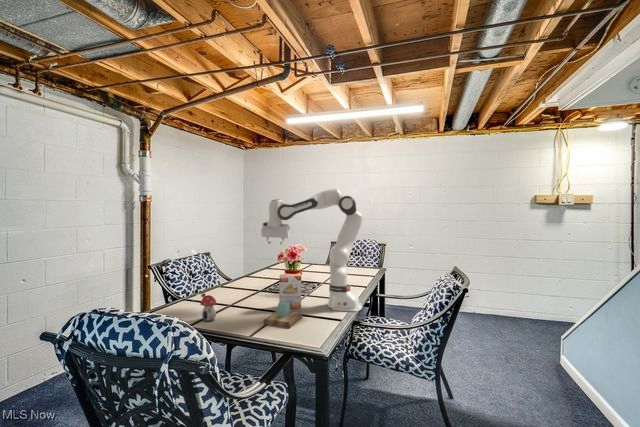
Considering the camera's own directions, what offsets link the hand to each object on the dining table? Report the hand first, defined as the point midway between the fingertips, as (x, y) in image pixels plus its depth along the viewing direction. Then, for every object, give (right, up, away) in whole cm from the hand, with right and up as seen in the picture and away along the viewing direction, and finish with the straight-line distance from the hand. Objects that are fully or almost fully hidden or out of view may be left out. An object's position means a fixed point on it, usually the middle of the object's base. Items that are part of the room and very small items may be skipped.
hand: (275, 244), depth 201 cm
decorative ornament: (-34, -40, -30) cm, 61 cm away
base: (+9, -40, -31) cm, 52 cm away
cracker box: (+11, -40, -9) cm, 42 cm away
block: (+9, -37, -30) cm, 49 cm away
